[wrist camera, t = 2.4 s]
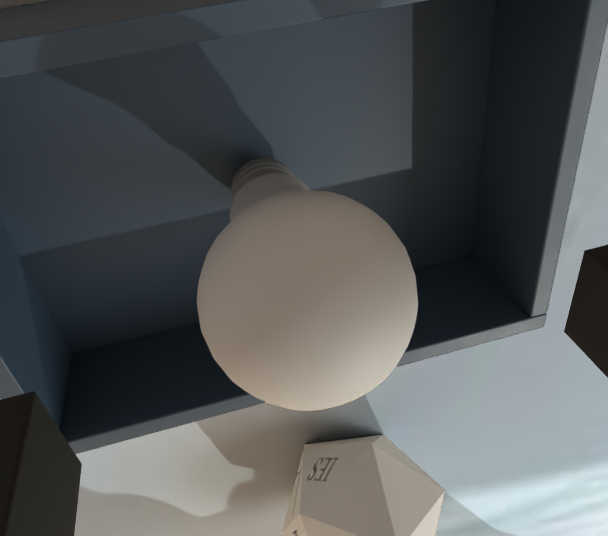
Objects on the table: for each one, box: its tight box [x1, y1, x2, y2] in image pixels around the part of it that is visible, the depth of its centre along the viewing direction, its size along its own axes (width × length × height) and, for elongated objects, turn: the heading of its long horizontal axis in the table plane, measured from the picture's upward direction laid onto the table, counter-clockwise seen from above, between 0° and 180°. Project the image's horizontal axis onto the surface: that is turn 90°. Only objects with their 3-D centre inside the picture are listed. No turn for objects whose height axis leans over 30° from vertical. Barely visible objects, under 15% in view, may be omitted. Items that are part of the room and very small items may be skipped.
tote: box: [0, 0, 608, 454], centre depth 20 cm, size 15×21×6 cm
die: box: [283, 434, 445, 536], centre depth 31 cm, size 8×9×10 cm
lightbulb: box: [197, 157, 418, 411], centre depth 17 cm, size 6×6×11 cm
